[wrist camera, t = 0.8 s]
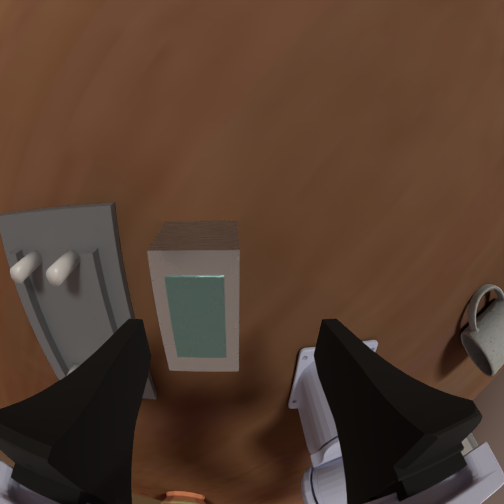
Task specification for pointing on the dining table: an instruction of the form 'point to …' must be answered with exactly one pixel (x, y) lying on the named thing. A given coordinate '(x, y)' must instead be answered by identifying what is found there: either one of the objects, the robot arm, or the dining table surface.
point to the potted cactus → (183, 498)
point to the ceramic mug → (485, 332)
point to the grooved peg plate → (69, 279)
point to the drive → (197, 293)
